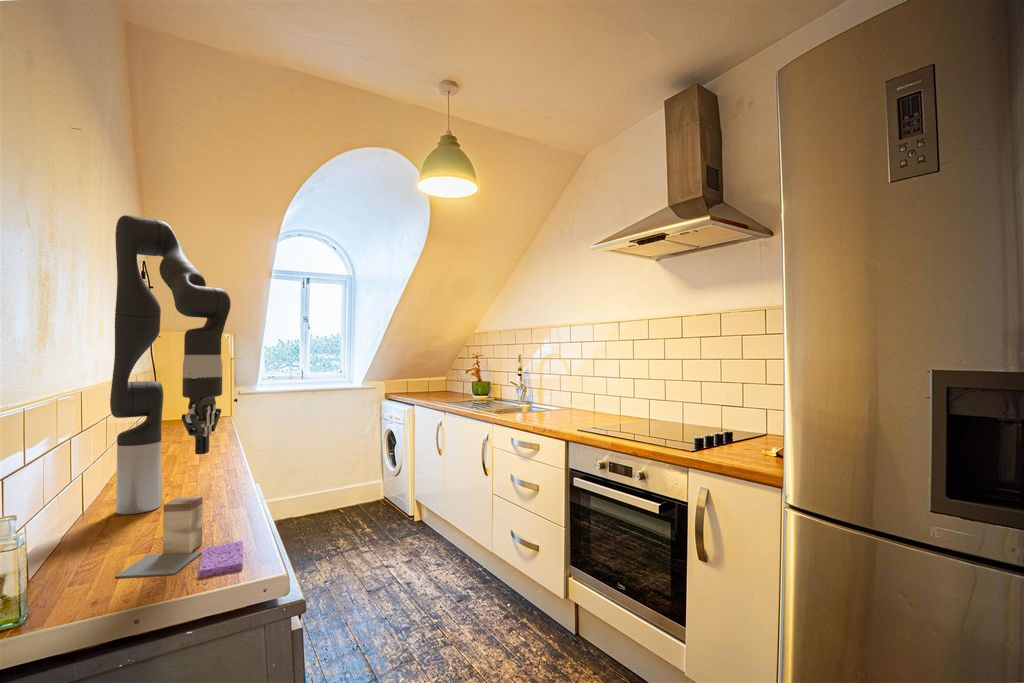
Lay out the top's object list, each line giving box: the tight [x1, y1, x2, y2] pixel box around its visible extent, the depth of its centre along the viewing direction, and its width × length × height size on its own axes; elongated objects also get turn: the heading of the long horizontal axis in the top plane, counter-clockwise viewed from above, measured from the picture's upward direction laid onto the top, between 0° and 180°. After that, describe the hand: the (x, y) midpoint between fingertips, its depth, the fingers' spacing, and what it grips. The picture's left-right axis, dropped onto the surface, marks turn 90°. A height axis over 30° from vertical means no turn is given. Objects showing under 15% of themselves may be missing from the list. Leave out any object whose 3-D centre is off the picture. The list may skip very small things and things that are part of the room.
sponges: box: [198, 540, 244, 578], centre depth 95 cm, size 7×13×2 cm, turn 29°
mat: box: [114, 551, 203, 579], centre depth 93 cm, size 10×10×1 cm
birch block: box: [162, 495, 204, 554], centre depth 101 cm, size 5×5×10 cm
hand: (202, 453), depth 109 cm, fingers closed
